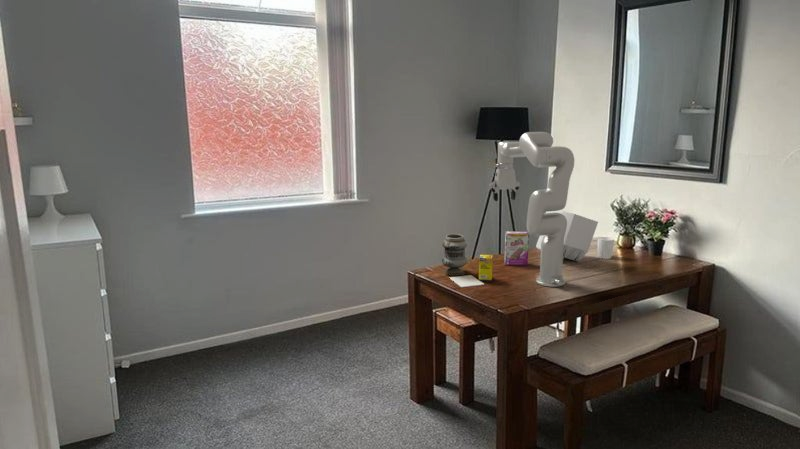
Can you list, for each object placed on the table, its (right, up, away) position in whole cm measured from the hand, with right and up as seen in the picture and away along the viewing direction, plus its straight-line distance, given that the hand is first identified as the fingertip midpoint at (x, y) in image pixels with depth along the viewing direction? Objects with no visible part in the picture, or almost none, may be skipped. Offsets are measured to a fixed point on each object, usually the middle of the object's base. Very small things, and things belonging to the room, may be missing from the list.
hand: (504, 200), depth 274 cm
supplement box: (-14, -38, -28) cm, 49 cm away
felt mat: (-23, -38, -31) cm, 54 cm away
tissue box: (+31, -31, +2) cm, 44 cm away
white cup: (+53, -30, +5) cm, 61 cm away
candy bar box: (+5, -33, -5) cm, 33 cm away
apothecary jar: (-27, -36, -17) cm, 48 cm away
